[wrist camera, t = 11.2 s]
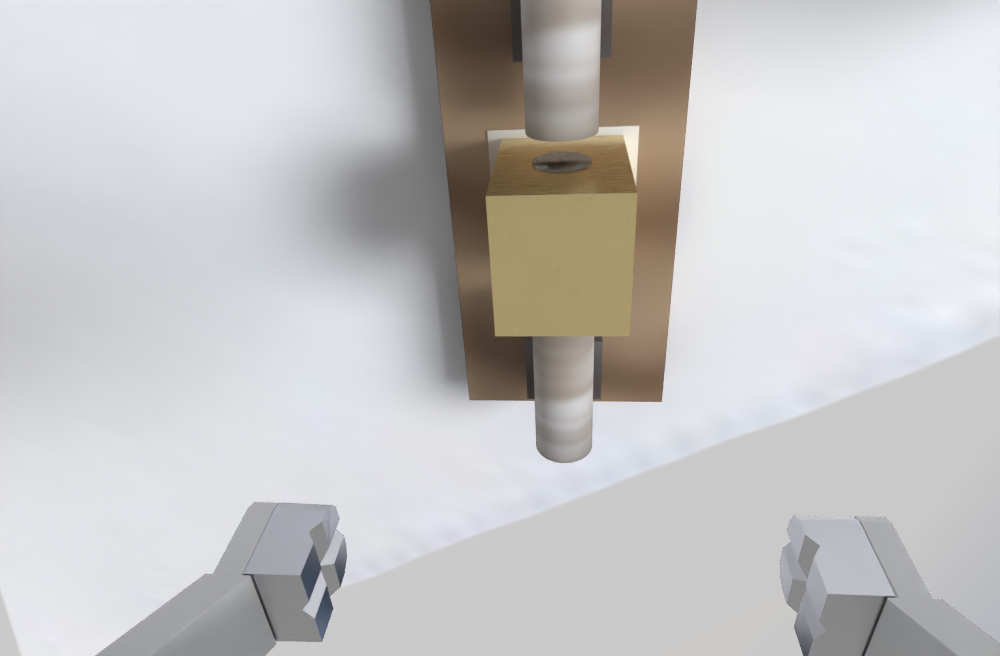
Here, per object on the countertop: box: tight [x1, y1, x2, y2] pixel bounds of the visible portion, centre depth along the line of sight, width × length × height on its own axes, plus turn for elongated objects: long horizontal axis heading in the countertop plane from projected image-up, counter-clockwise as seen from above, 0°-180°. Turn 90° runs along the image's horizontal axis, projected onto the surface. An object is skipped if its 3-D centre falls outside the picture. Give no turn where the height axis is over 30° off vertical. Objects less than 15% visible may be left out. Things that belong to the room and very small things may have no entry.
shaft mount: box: [430, 0, 697, 463], centre depth 25 cm, size 20×9×6 cm, turn 3°
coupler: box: [486, 135, 638, 336], centre depth 24 cm, size 5×4×6 cm
